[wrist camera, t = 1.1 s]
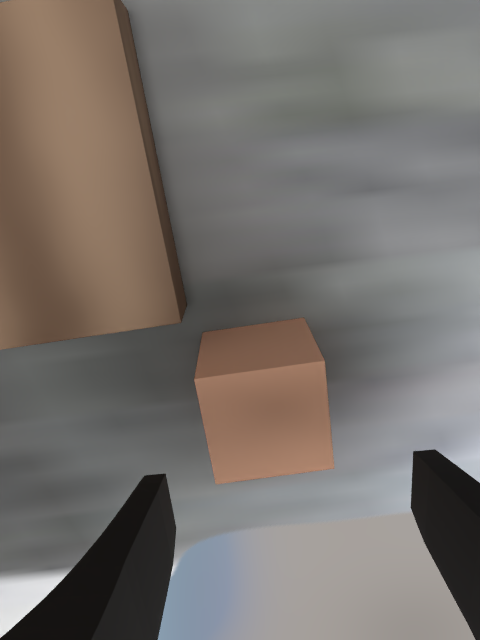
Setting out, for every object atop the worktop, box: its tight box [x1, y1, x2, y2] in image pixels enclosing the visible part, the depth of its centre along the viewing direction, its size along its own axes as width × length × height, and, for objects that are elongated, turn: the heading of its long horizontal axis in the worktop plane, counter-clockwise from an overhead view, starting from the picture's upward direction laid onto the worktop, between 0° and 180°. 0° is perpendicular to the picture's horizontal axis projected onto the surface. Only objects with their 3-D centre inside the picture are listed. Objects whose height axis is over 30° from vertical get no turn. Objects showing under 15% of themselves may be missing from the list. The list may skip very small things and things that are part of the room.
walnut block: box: [0, 0, 187, 350], centre depth 17 cm, size 12×12×3 cm
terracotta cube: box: [194, 318, 334, 484], centre depth 19 cm, size 5×5×5 cm
